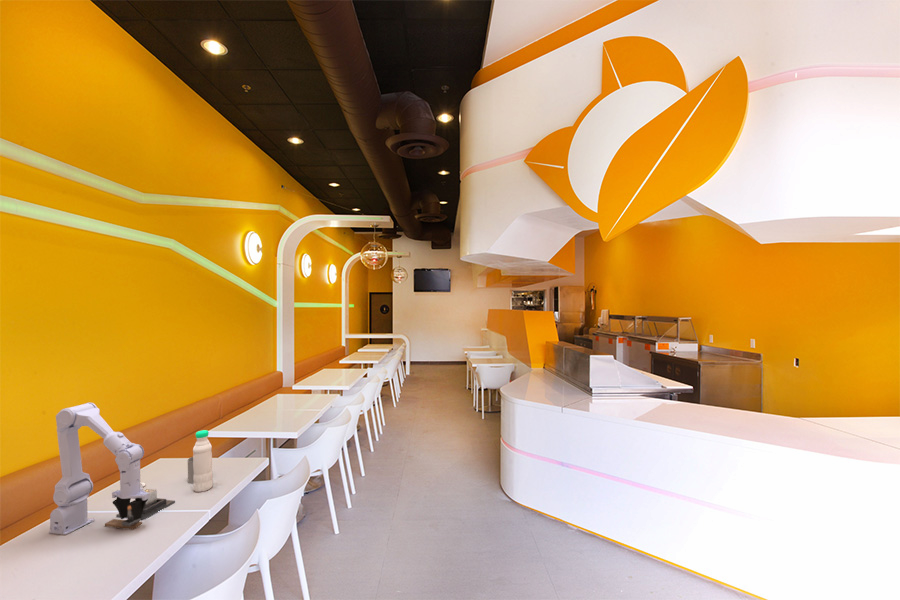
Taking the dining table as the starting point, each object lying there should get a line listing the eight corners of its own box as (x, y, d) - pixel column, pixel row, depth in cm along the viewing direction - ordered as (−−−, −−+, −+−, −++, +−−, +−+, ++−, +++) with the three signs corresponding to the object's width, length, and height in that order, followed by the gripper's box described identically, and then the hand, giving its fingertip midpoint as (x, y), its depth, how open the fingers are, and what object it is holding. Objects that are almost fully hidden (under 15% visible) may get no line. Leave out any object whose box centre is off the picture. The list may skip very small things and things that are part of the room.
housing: (146, 510, 153) (145, 492, 153) (136, 509, 154) (136, 492, 154) (157, 504, 157) (156, 487, 157) (147, 504, 158) (147, 486, 158)
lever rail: (133, 529, 141) (133, 526, 141) (104, 526, 144) (104, 523, 144) (142, 524, 144) (142, 521, 144) (113, 521, 147) (113, 518, 147)
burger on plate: (117, 498, 167) (117, 485, 167) (112, 490, 175) (112, 478, 175) (152, 488, 176) (152, 476, 176) (146, 481, 184) (146, 469, 184)
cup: (190, 478, 184) (189, 456, 184) (210, 474, 188) (210, 453, 188) (186, 485, 177) (186, 462, 177) (208, 481, 180) (207, 459, 180)
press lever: (130, 526, 141) (129, 506, 141) (122, 525, 142) (121, 506, 142) (140, 520, 145) (139, 501, 145) (132, 520, 145) (131, 501, 146)
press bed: (144, 519, 148) (144, 513, 148) (116, 517, 150) (116, 510, 150) (175, 502, 160) (174, 496, 160) (148, 500, 163) (148, 494, 163)
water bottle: (216, 485, 175) (215, 428, 176) (205, 492, 168) (203, 433, 169) (201, 485, 176) (200, 428, 177) (189, 492, 169) (188, 433, 170)
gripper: (157, 476, 146) (157, 513, 146) (125, 474, 149) (125, 511, 149) (138, 485, 139) (139, 524, 139) (105, 483, 142) (106, 521, 142)
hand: (131, 518), depth 143 cm, fingers open, 5 cm apart
